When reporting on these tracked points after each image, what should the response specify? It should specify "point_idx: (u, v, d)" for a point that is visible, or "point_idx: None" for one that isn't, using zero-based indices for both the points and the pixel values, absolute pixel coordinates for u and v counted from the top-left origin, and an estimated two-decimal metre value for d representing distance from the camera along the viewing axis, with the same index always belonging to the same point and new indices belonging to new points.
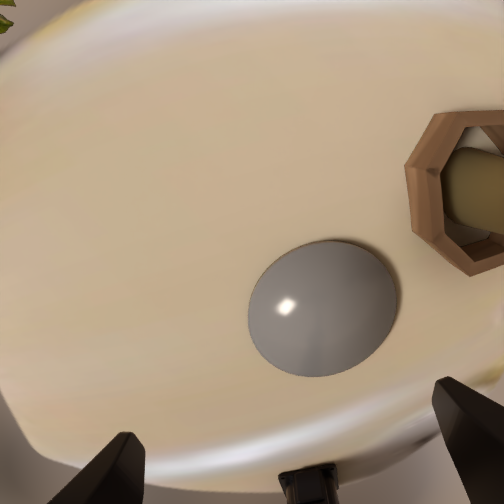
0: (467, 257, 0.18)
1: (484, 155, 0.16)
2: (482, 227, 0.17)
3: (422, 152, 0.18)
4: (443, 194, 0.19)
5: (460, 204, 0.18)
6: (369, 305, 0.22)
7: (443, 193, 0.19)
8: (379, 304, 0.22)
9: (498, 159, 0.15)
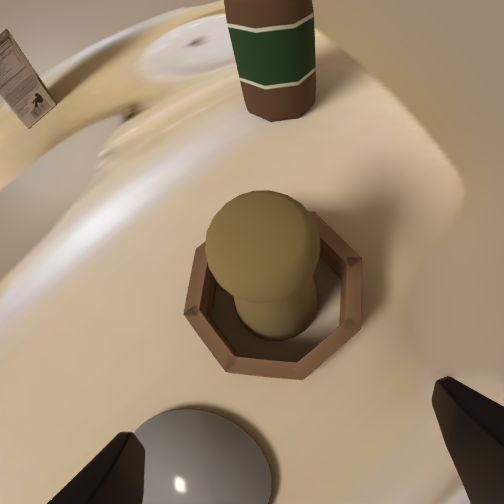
0: (282, 363, 0.18)
1: None
2: (273, 325, 0.19)
3: None
4: (243, 324, 0.22)
5: (247, 321, 0.20)
6: (227, 457, 0.18)
7: (243, 323, 0.22)
8: (237, 453, 0.18)
9: None
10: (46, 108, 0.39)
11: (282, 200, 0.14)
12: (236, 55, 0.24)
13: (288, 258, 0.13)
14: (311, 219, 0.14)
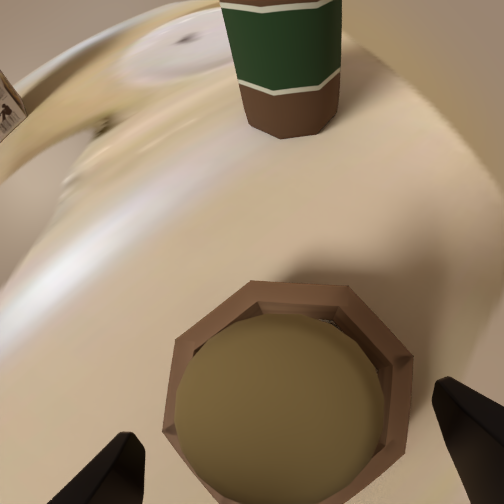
0: None
1: None
2: None
3: None
4: None
5: None
6: None
7: None
8: None
9: None
10: (15, 121, 0.32)
11: (324, 350, 0.06)
12: (233, 48, 0.17)
13: (332, 473, 0.05)
14: (376, 380, 0.06)
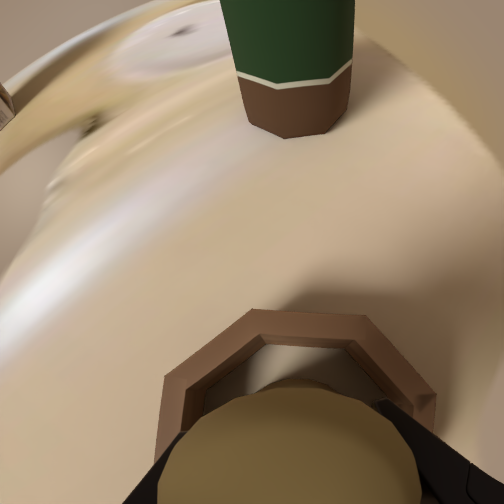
0: None
1: None
2: None
3: None
4: None
5: None
6: None
7: None
8: None
9: None
10: (3, 120, 0.29)
11: (355, 455, 0.04)
12: (231, 35, 0.14)
13: None
14: (415, 475, 0.04)
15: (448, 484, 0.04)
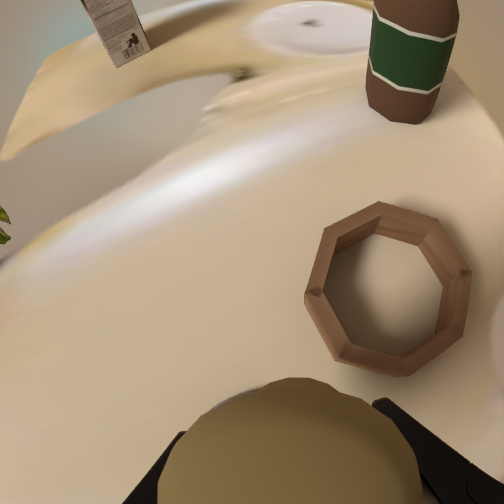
0: (394, 357, 0.17)
1: None
2: None
3: None
4: None
5: None
6: None
7: None
8: None
9: None
10: (140, 51, 0.39)
11: (356, 453, 0.04)
12: (378, 49, 0.22)
13: None
14: (416, 473, 0.04)
15: (448, 485, 0.04)
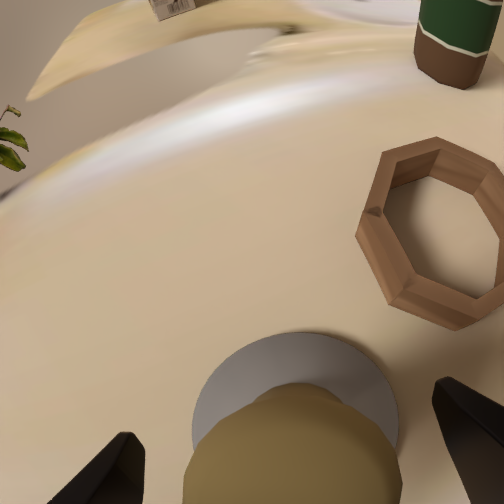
0: (463, 296, 0.14)
1: None
2: None
3: None
4: None
5: None
6: None
7: None
8: (370, 405, 0.14)
9: None
10: (185, 7, 0.36)
11: (346, 450, 0.05)
12: (429, 8, 0.18)
13: None
14: (396, 469, 0.05)
15: None
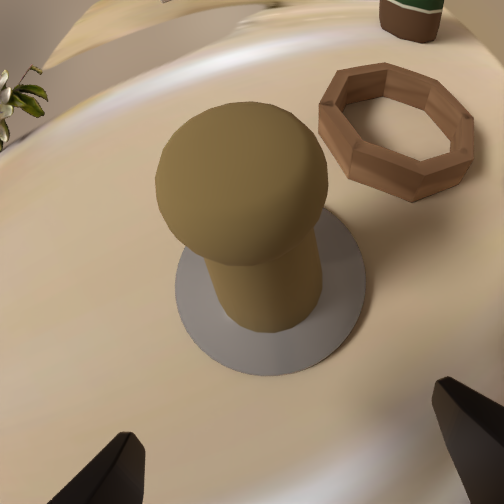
0: (407, 157, 0.17)
1: None
2: (261, 309, 0.14)
3: None
4: (225, 310, 0.17)
5: (227, 305, 0.15)
6: (322, 254, 0.18)
7: (224, 309, 0.17)
8: (335, 251, 0.18)
9: None
10: None
11: (269, 108, 0.09)
12: None
13: (278, 181, 0.08)
14: (313, 136, 0.09)
15: None
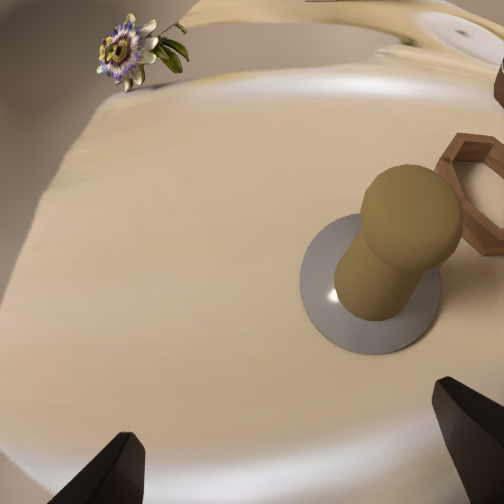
0: (491, 222, 0.20)
1: None
2: (377, 300, 0.18)
3: None
4: (339, 294, 0.22)
5: (349, 291, 0.20)
6: None
7: (339, 293, 0.22)
8: (424, 275, 0.22)
9: None
10: None
11: (443, 182, 0.13)
12: None
13: (444, 232, 0.12)
14: None
15: None
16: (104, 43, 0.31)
